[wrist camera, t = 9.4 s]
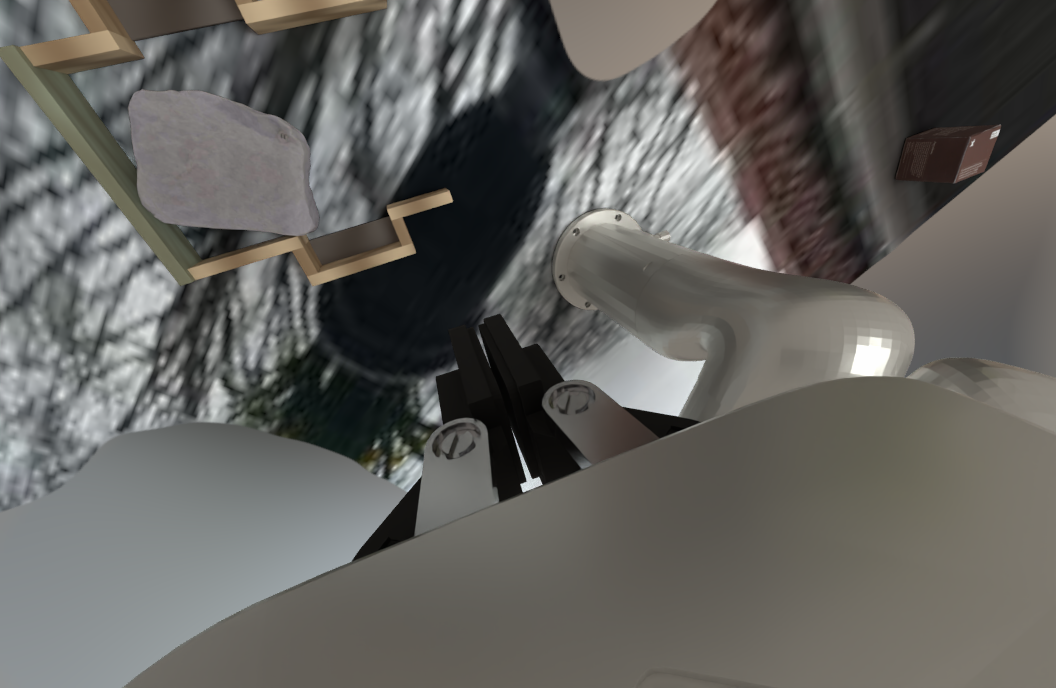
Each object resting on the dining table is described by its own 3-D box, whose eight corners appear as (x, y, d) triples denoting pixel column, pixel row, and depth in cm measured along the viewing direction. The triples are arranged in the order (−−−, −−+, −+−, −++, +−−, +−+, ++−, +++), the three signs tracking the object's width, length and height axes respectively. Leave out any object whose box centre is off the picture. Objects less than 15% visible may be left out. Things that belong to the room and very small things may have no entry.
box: (892, 180, 57) (953, 184, 51) (904, 137, 54) (971, 135, 48) (921, 169, 58) (984, 172, 52) (935, 126, 55) (1003, 124, 49)
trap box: (361, -70, 28) (358, -96, 25) (459, 231, 40) (465, 238, 37) (-11, -7, 24) (-67, -29, 21) (222, 307, 36) (208, 321, 33)
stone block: (143, 92, 29) (164, 225, 32) (105, 67, 25) (131, 223, 27) (316, 124, 34) (322, 237, 36) (308, 107, 30) (315, 237, 32)
